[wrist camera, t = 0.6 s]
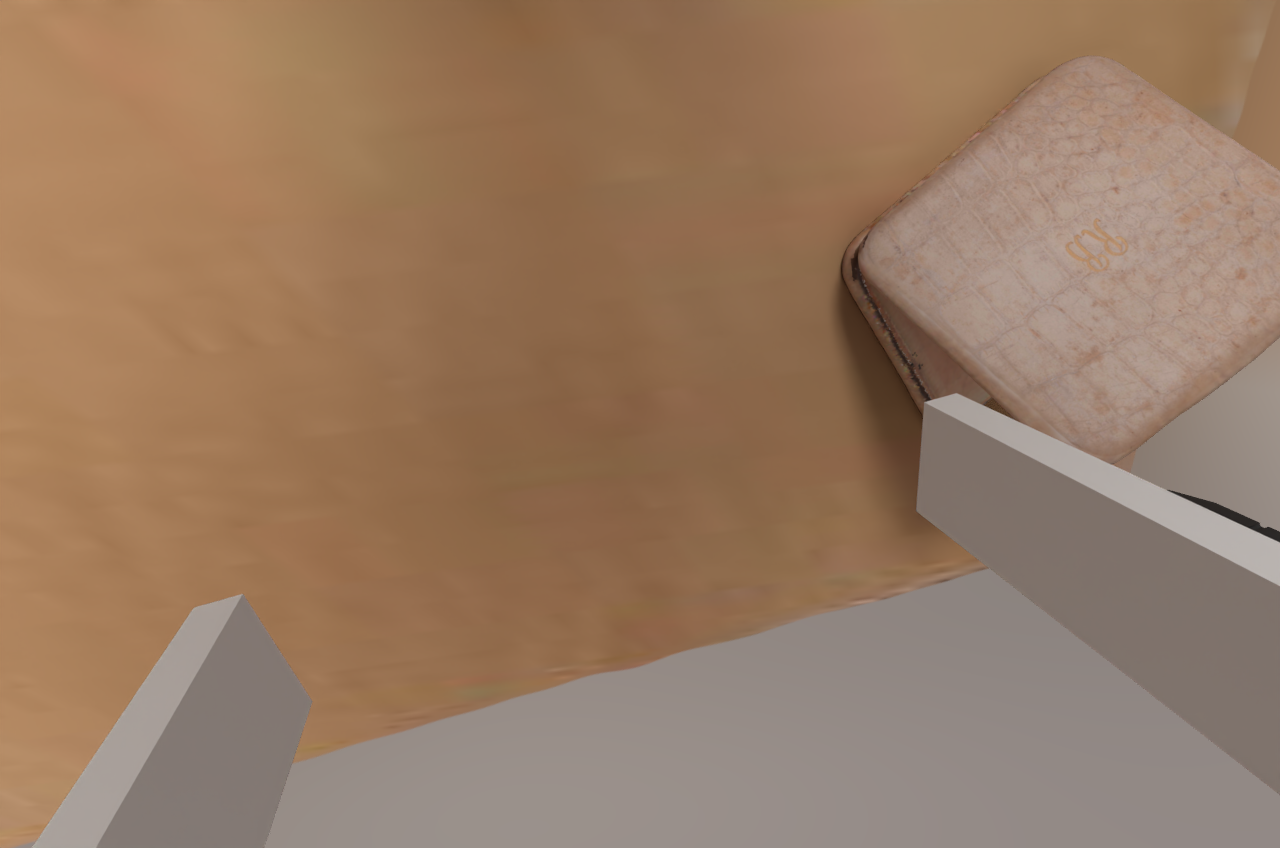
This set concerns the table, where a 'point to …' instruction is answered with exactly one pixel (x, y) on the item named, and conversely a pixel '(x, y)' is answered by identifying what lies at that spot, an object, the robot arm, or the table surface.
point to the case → (1079, 262)
